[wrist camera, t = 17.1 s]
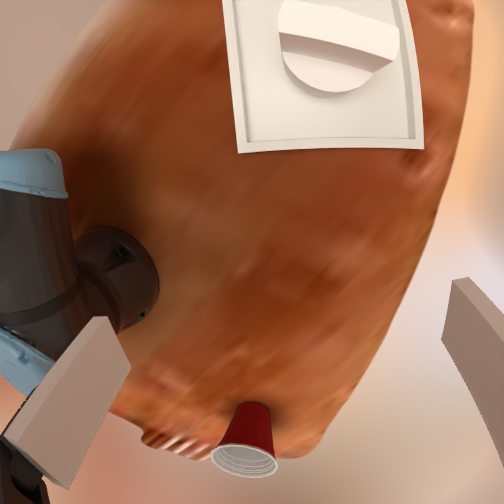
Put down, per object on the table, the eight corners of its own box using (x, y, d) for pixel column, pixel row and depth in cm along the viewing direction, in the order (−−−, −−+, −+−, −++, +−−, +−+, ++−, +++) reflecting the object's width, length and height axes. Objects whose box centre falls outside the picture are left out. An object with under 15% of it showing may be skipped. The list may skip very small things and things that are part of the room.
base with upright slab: (275, 88, 29) (267, 68, 19) (289, 17, 26) (287, -31, 15) (357, 107, 29) (391, 98, 18) (369, 36, 25) (404, -1, 15)
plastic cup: (253, 383, 47) (243, 442, 36) (294, 413, 49) (292, 468, 38) (210, 404, 51) (195, 457, 40) (251, 431, 53) (243, 482, 42)
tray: (242, 151, 33) (238, 153, 31) (226, -5, 26) (220, -15, 23) (413, 146, 30) (423, 149, 28) (393, -7, 23) (401, -16, 20)
